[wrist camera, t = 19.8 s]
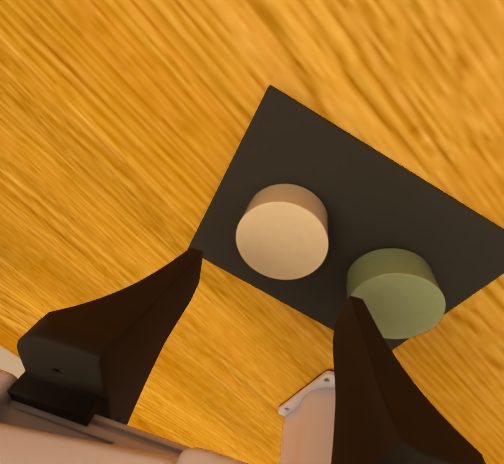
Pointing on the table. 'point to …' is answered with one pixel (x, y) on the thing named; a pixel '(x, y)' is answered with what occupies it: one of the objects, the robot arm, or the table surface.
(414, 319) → the sage green puck
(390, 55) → the table surface
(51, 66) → the table surface
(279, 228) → the cream cylinder
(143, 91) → the table surface
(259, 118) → the mat
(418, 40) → the table surface
